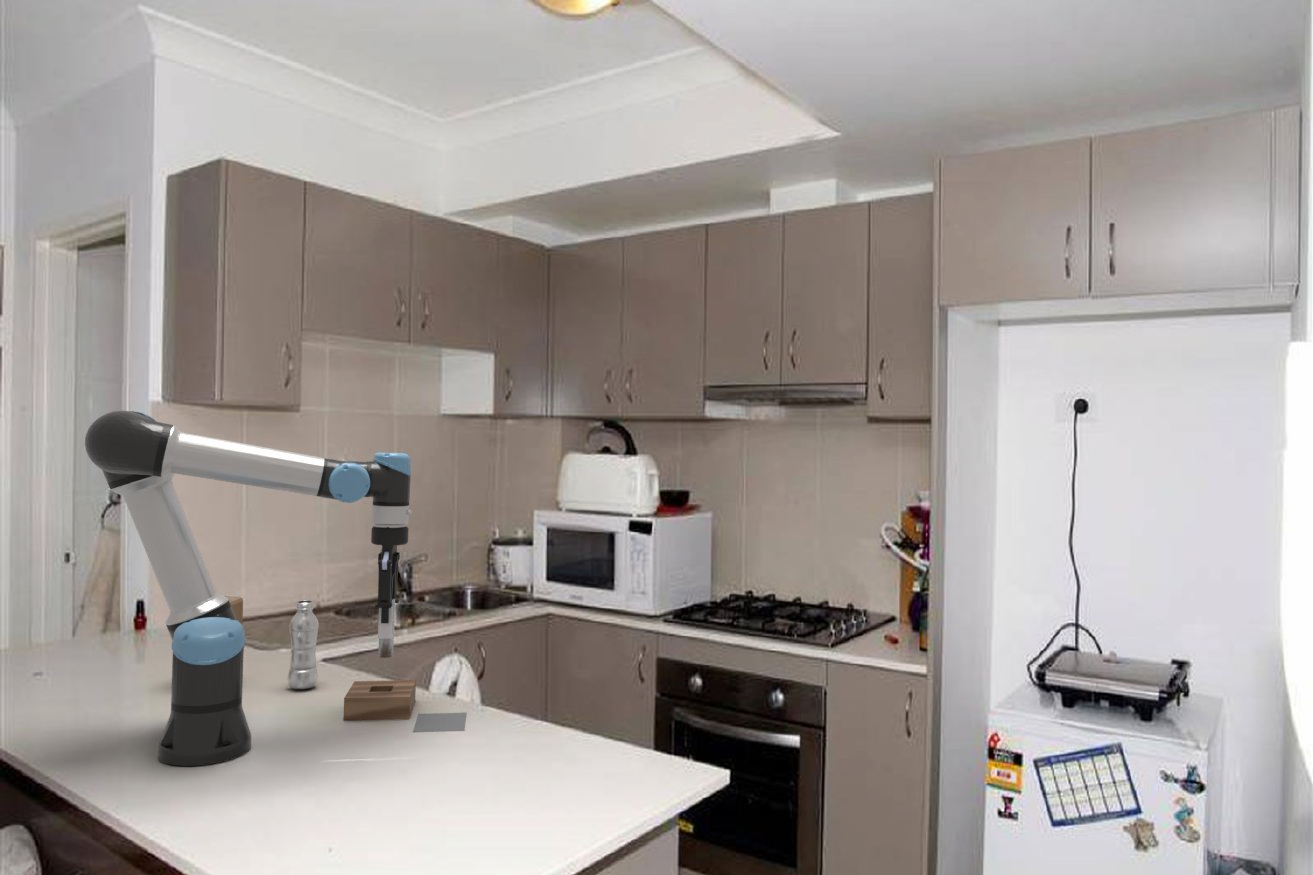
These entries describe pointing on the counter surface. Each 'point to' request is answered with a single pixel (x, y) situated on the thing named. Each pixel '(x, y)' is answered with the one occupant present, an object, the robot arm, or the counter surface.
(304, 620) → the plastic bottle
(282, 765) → the counter surface
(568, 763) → the counter surface
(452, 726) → the rubber mat
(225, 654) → the robot arm
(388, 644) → the steel pin
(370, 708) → the walnut socket block
